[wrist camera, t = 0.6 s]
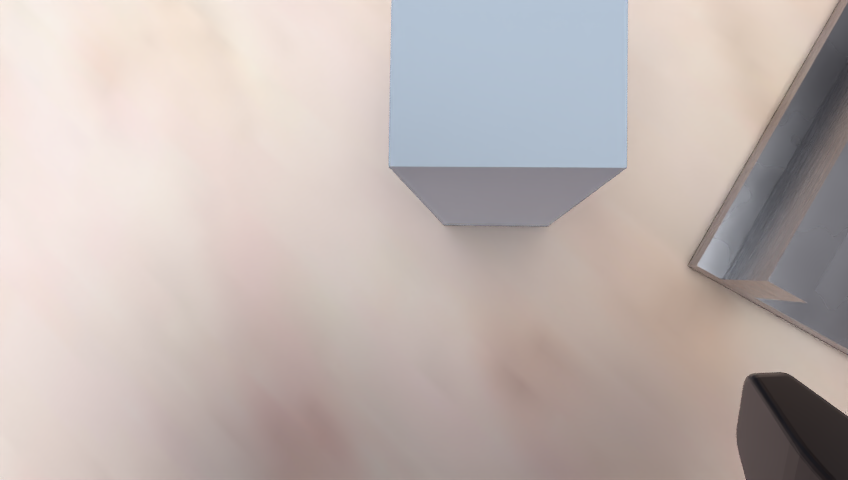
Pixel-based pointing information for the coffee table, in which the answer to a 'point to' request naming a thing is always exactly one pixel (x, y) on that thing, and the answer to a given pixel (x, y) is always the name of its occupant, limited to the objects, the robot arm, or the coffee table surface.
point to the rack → (794, 202)
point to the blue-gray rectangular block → (507, 105)
